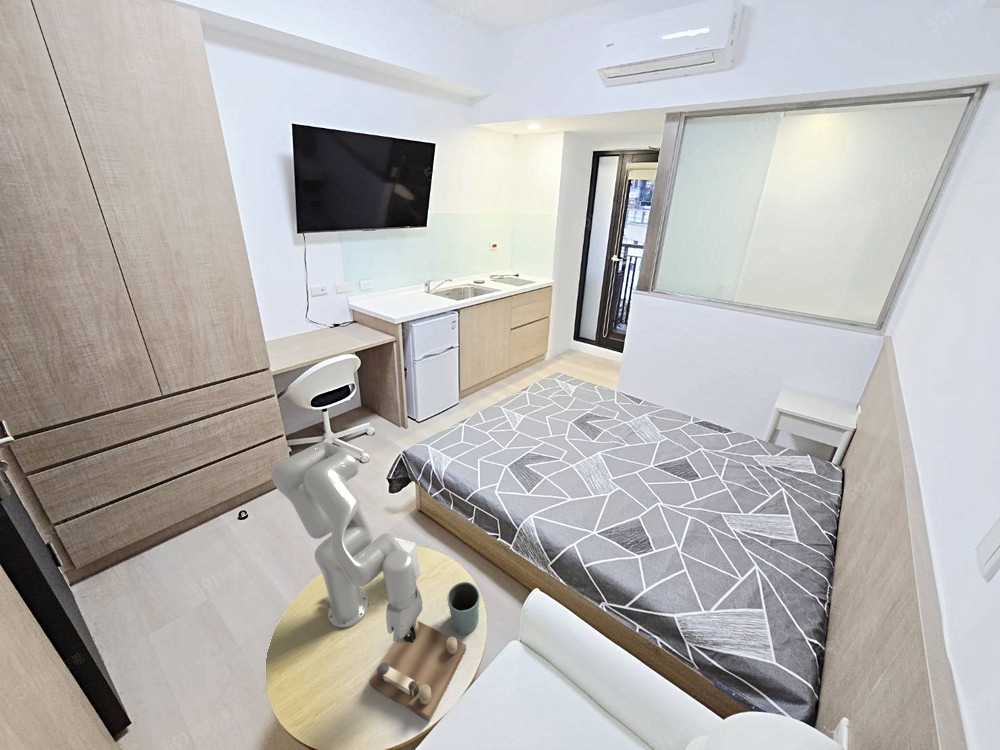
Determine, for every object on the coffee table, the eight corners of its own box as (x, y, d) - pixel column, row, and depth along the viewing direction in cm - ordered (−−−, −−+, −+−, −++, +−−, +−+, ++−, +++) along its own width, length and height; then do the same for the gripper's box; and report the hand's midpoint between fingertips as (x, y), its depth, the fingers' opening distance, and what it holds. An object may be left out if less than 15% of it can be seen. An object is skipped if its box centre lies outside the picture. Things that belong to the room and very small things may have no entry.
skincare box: (420, 573, 147) (417, 542, 141) (411, 589, 142) (407, 557, 135) (400, 567, 150) (396, 536, 143) (391, 582, 144) (386, 550, 138)
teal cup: (475, 639, 126) (474, 614, 121) (444, 632, 128) (442, 607, 123) (483, 609, 135) (482, 584, 130) (454, 603, 137) (453, 579, 132)
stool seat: (370, 686, 114) (367, 672, 111) (412, 623, 131) (410, 610, 128) (429, 722, 107) (427, 708, 104) (466, 650, 123) (465, 637, 120)
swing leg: (375, 677, 113) (374, 671, 112) (383, 666, 116) (382, 660, 115) (414, 699, 108) (413, 694, 107) (421, 687, 111) (420, 682, 110)
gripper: (408, 566, 112) (414, 610, 120) (371, 612, 100) (381, 658, 107) (430, 575, 109) (435, 620, 117) (396, 625, 97) (404, 671, 105)
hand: (409, 638), depth 112 cm, fingers closed
